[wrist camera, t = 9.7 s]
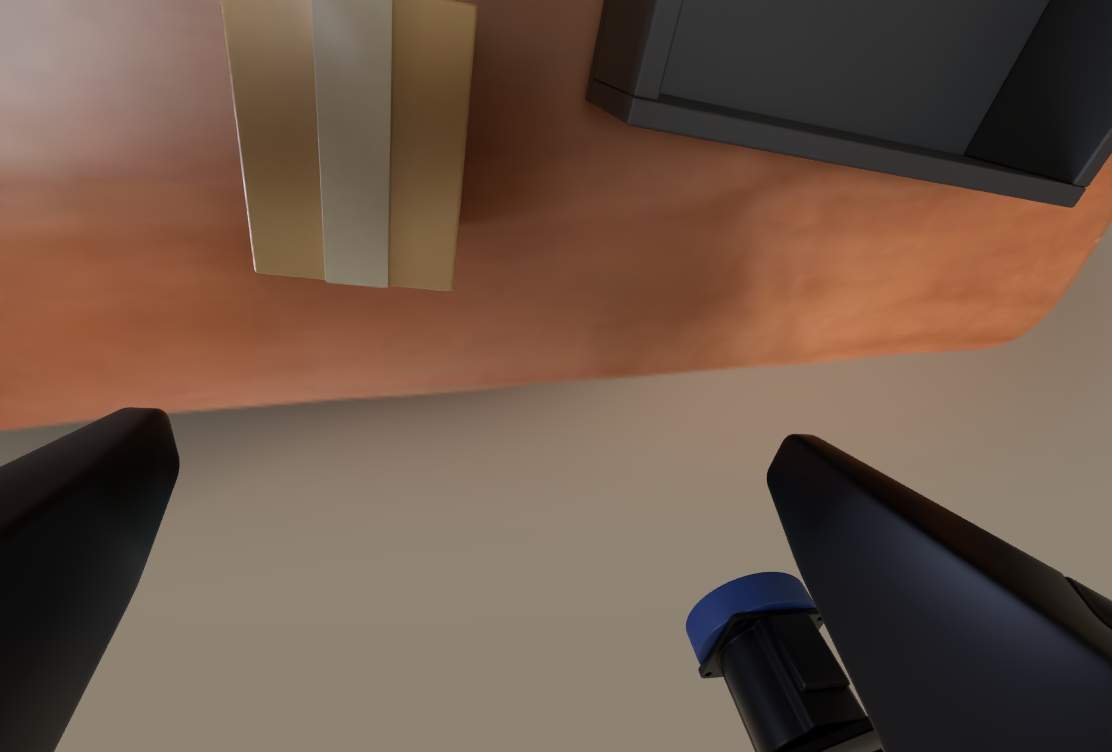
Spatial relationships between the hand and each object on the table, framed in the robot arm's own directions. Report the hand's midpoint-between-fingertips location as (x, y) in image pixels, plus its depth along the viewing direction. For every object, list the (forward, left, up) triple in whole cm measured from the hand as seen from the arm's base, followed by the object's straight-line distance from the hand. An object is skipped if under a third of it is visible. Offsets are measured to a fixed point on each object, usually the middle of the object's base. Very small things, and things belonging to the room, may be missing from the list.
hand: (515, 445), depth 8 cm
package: (+2, +3, -12) cm, 12 cm away
